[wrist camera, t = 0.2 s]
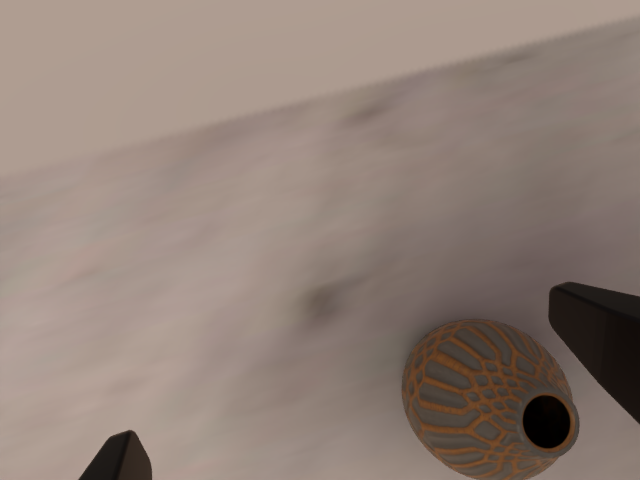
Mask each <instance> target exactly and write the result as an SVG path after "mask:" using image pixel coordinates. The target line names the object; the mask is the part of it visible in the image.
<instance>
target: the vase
mask: <svg viewBox="0 0 640 480" xmlns="http://www.w3.org/2000/svg"><path fill="white" fill-rule="evenodd" d="M402 399H403V405H404V409H405V412H406V415H407V418H408V421H409V423H410V425H411V427H412V429H413V431H414V433H415V434H416V436H417V437H418V438H419V440H420V441H421V442H422V444H423V445H424V446H425V447H426V448H427V449H428V450H429V451H430V452H431V453H432V454H433V455H434V456H435V457H436V458H437V459H438V460H440V461H441V462H442V463H444V464H445V465H446V466H448V467H449V468H451V469H453V470H454V471H456V472H458V473H461V474H463V475H465V476H468V477H471V478H474V479H478V480H525V479H528V478H531V477H533V476H535V475H537V474H539V473H541V472H542V471H544V470H546V469H547V468H548V467H549V466H551V465H552V464H553V463H554V462H555V461H556V460H557V458H558V457H559V456H561V455H563V454H565V453H566V452H568V451H569V450H570V449H571V448H572V446H573V445H574V443H575V442H576V439H577V437H578V433H579V416H578V412H577V409H576V407H575V405H574V403H573V399H572V394H571V390H570V387H569V384H568V381H567V379H566V377H565V375H564V373H563V371H562V369H561V368H560V366H559V364H558V363H557V362H556V360H555V359H554V358H553V357H552V356H551V354H550V353H549V352H548V351H547V350H546V349H545V348H544V347H543V346H541V345H540V344H539V343H538V342H537V341H535V340H534V339H533V338H531V337H530V336H528V335H527V334H525V333H523V332H521V331H519V330H518V329H516V328H513V327H511V326H508V325H506V324H503V323H499V322H495V321H490V320H480V319H472V320H461V321H455V322H451V323H448V324H445V325H443V326H441V327H439V328H437V329H435V330H433V331H432V332H430V333H429V334H428V335H426V336H425V337H424V338H423V339H422V340H421V341H420V342H419V343H418V344H417V345H416V347H415V348H414V349H413V351H412V353H411V354H410V356H409V358H408V360H407V363H406V366H405V369H404V373H403V379H402Z"/></svg>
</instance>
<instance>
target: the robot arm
mask: <svg viewBox="0 0 640 480" xmlns="http://www.w3.org/2000/svg"><path fill="white" fill-rule="evenodd" d="M548 317H549V322H550V324H551V326H552V328H553V329H554V331H555V332H556V333H557V334H558V335H559V337H560V338H561V339H562V340H563V341H564V343H565V344H566V345H567V346H568V347H569V349H570V350H571V351H572V352H573V353H574V355H575V356H576V357H577V358H578V359H579V361H580V362H581V363H582V364H583V365H584V367H585V368H586V369H587V370H588V371H589V373H590V374H591V375H592V376H593V377H594V378H595V379H596V381H597V382H598V383H599V384H600V385H601V386H602V387H603V388H604V389H605V390H606V391H607V392H608V393H609V394H610V395H611V396H612V397H613V398H614V399H615V400H616V401H617V402H618V403H619V404H620V405H621V406H622V407H623V408H624V409H625V410H626V411H627V412H628V413H629V414H630V415H631V416H632V417H633V418H634V419H635V420H636V421H637V422H638V423H639V424H640V297H639V296H634V295H630V294H625V293H620V292H616V291H611V290H607V289H602V288H597V287H593V286H588V285H584V284H579V283H574V282H565V283H562V284H559V285H556V286H554V287H552V288H551V290H550V292H549V314H548ZM78 480H152V468H151V463H150V460H149V457H148V455H147V453H146V451H145V449H144V448H143V446H142V444H141V442H140V440H139V438H138V436H137V434H136V433H135V432H134V431H132V430H128V431H125V432H122V433H119V434H116V435H113V436H111V437H110V438H109V439H108V440H107V441H106V442H105V444H104V445H103V446H102V448H101V449H100V450H99V452H98V453H97V455H96V456H95V457H94V459H93V460H92V462H91V463H90V464H89V466H88V467H87V468H86V470H85V471H84V473H83V474H82V475H81V477H80V478H79V479H78Z"/></svg>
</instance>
